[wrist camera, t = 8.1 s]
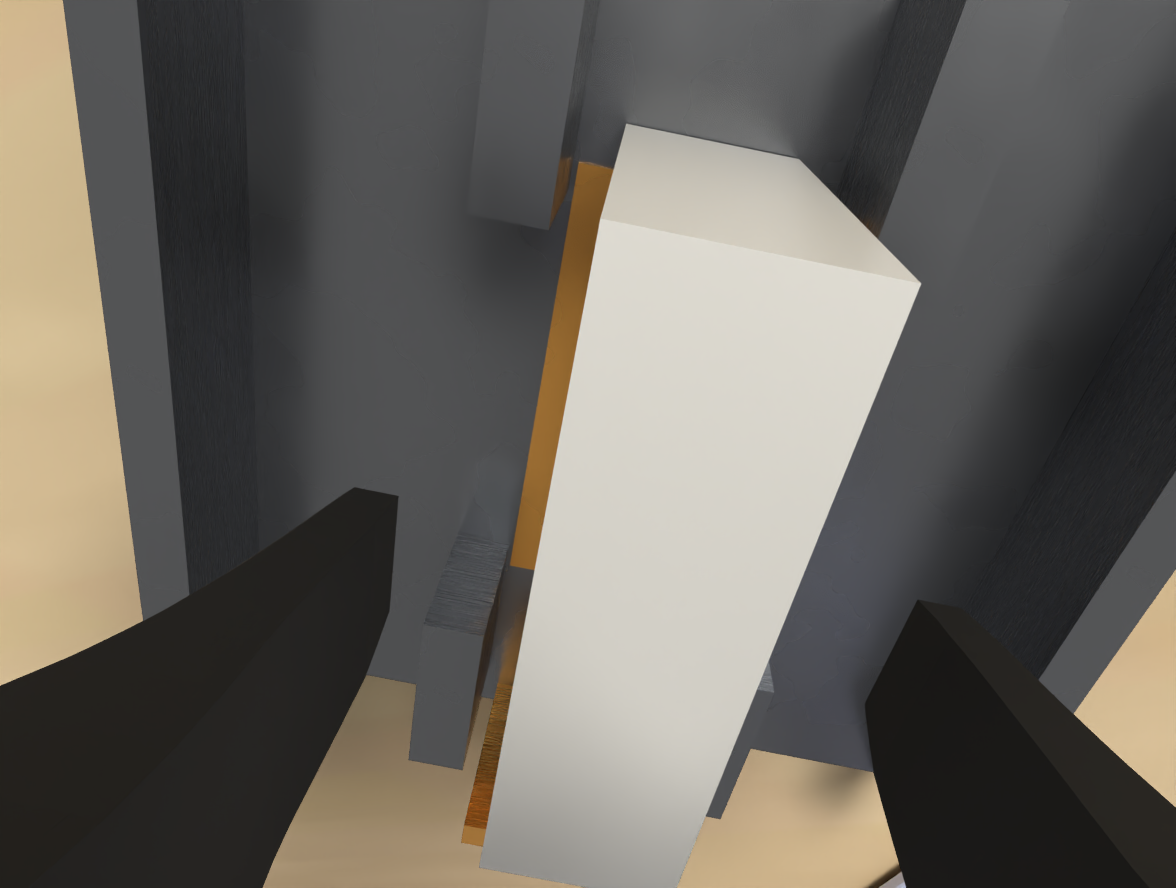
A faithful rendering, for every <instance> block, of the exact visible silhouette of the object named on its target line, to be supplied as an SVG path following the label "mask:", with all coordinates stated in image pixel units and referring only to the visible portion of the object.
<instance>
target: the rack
mask: <svg viewBox="0 0 1176 888" xmlns="http://www.w3.org/2000/svg"><path fill="white" fill-rule="evenodd" d="M63 4H64V12H65V20H66V28H67V35H68V43H69V51H70V59H71V66H72V74H73V82H74V89H75V97H76V105H77V113H78V120H79V128H80V136H81V144H82V151H83V159H84V167H85V175H86V182H87V190H88V198H89V205H90V213H91V221H92V229H93V236H94V244H95V252H96V260H97V267H98V275H99V283H100V291H101V298H102V306H103V314H104V322H105V329H106V337H107V345H108V352H109V360H110V368H111V376H112V383H113V391H114V399H115V407H116V414H117V422H118V430H119V438H120V445H121V453H122V461H123V468H124V476H125V484H126V492H127V499H128V507H129V515H130V523H131V530H132V538H133V546H134V554H135V561H136V569H137V577H138V584H139V592H140V600H141V608H142V615H143V621H144V620H146V619H148V618H150V617H152V616H154V615H155V614H157V613H159V612H161V611H163V610H165V609H166V608H168V607H170V606H172V605H173V604H175V603H177V602H179V601H180V600H182V599H184V598H185V597H187V596H189V595H190V594H192V593H194V592H195V591H197V590H199V589H201V588H202V587H204V586H206V585H207V584H209V583H211V582H212V581H214V580H216V579H217V578H219V577H221V576H222V575H224V574H226V573H227V572H229V571H231V570H232V569H234V568H235V567H237V566H238V565H240V564H241V563H243V562H244V561H246V560H248V559H249V558H251V557H252V556H254V555H255V554H257V553H258V552H260V551H261V550H263V549H264V548H266V547H267V546H269V545H270V544H272V543H273V542H275V541H276V540H278V539H279V538H281V537H282V536H284V535H285V534H287V533H288V532H290V531H291V530H292V529H294V528H295V527H297V526H298V525H300V524H301V523H303V522H304V521H305V520H307V519H308V518H310V517H311V516H313V515H314V514H315V513H317V512H318V511H320V510H321V509H322V508H324V507H325V506H327V505H328V504H330V503H331V502H332V501H334V500H335V499H337V498H338V497H340V496H341V495H343V494H344V493H346V492H347V491H349V490H351V489H352V488H354V487H357V488H362V489H367V490H372V491H377V492H382V493H387V494H392V495H397V496H399V498H398V511H397V523H396V536H395V549H394V561H393V574H392V587H391V600H390V611H389V614H388V617H387V619H386V622H385V625H384V628H383V631H382V633H381V636H380V639H379V642H378V645H377V647H376V650H375V653H374V655H373V658H372V661H371V663H370V666H369V669H368V671H367V674H366V675H370V676H375V677H381V678H386V679H391V680H396V681H401V682H407V683H412V684H417V685H416V695H415V704H414V713H413V723H412V732H411V742H410V751H409V760H412V761H417V762H422V763H427V764H433V765H438V766H443V767H448V768H454V769H459V770H463V766H464V762H465V758H466V754H467V750H468V746H469V743H470V739H471V735H472V731H473V727H474V723H475V719H476V715H477V711H478V707H479V703H480V700H481V697H485V698H490V699H494V701H493V706H492V710H491V714H490V718H489V722H488V727H487V731H486V735H485V739H484V744H483V748H482V752H481V756H480V760H479V765H478V769H477V773H476V777H475V782H474V786H473V790H472V794H471V798H470V803H469V807H468V811H467V815H466V820H465V824H464V829H463V835H462V841H461V843H467V844H472V845H477V846H483V844H484V838H485V833H486V828H487V822H488V817H489V812H490V806H491V801H492V796H493V790H494V785H495V780H496V774H497V769H498V763H499V758H500V753H501V747H502V742H503V737H504V731H505V726H506V721H507V715H508V710H509V705H510V699H511V694H512V689H513V683H514V678H515V673H516V667H517V662H518V656H519V651H520V646H521V640H522V635H523V630H524V624H525V619H526V614H527V608H528V603H529V598H530V592H531V587H532V582H533V576H534V571H535V565H536V560H537V555H538V549H539V544H540V539H541V533H542V528H543V523H544V517H545V512H546V507H547V501H548V496H549V491H550V485H551V480H552V475H553V469H554V464H555V458H556V453H557V448H558V442H559V437H560V432H561V426H562V421H563V416H564V410H565V405H566V400H567V394H568V389H569V384H570V378H571V373H572V367H573V362H574V357H575V351H576V346H577V341H578V335H579V330H580V325H581V319H582V314H583V309H584V303H585V298H586V293H587V287H588V282H589V277H590V271H591V266H592V260H593V255H594V250H595V244H596V239H597V234H598V228H599V223H600V218H601V214H602V211H603V207H604V203H605V200H606V196H607V192H608V189H609V185H610V181H611V178H612V174H613V170H614V167H615V163H616V159H617V156H618V152H619V148H620V145H621V141H622V137H623V134H624V130H625V126H626V124H630V125H635V126H640V127H645V128H650V129H655V130H660V131H665V132H669V133H674V134H679V135H684V136H689V137H694V138H699V139H703V140H708V141H713V142H718V143H723V144H728V145H733V146H738V147H742V148H747V149H752V150H757V151H762V152H767V153H772V154H776V155H781V156H786V157H791V158H796V159H799V160H800V161H801V162H802V163H803V164H804V165H805V166H806V167H807V168H808V169H809V170H810V171H811V172H812V173H813V174H814V175H815V176H816V177H817V178H818V179H819V180H820V181H821V182H822V183H823V184H824V185H825V186H826V187H827V188H828V189H829V190H830V191H831V192H832V193H833V194H834V195H835V196H836V197H837V198H838V199H839V200H840V201H841V202H842V203H843V204H844V205H845V206H846V207H847V208H848V209H849V210H850V211H851V212H852V214H853V215H854V216H855V217H856V218H857V219H858V220H859V221H860V222H861V223H862V224H863V225H864V226H865V227H866V228H867V229H868V230H869V231H870V232H871V233H872V234H873V235H874V236H875V237H876V238H877V239H878V240H879V241H880V242H881V243H882V244H883V245H884V246H885V247H886V248H887V249H888V250H889V251H890V252H891V253H892V254H893V255H894V256H895V257H896V258H897V259H898V260H899V261H900V262H901V263H902V264H903V265H904V266H905V267H906V269H907V270H908V271H909V272H910V273H911V274H912V275H913V276H914V277H915V278H916V279H917V280H918V281H919V282H920V283H921V286H920V288H919V290H918V293H917V295H916V298H915V300H914V303H913V305H912V308H911V310H910V313H909V315H908V318H907V320H906V323H905V325H904V328H903V330H902V332H901V335H900V337H899V340H898V342H897V345H896V347H895V350H894V352H893V355H892V357H891V360H890V362H889V365H888V367H887V370H886V372H885V374H884V377H883V379H882V382H881V384H880V387H879V389H878V392H877V394H876V397H875V399H874V402H873V404H872V407H871V409H870V411H869V414H868V416H867V419H866V421H865V424H864V426H863V429H862V431H861V434H860V436H859V439H858V441H857V444H856V446H855V449H854V451H853V453H852V456H851V458H850V461H849V463H848V466H847V468H846V471H845V473H844V476H843V478H842V481H841V483H840V486H839V488H838V491H837V493H836V495H835V498H834V500H833V503H832V505H831V508H830V510H829V513H828V515H827V518H826V520H825V523H824V525H823V528H822V530H821V532H820V535H819V537H818V540H817V542H816V545H815V547H814V550H813V552H812V555H811V557H810V560H809V562H808V565H807V567H806V570H805V572H804V574H803V577H802V579H801V582H800V584H799V587H798V589H797V592H796V594H795V597H794V599H793V602H792V604H791V607H790V609H789V612H788V614H787V616H786V619H785V621H784V624H783V626H782V629H781V631H780V634H779V636H778V639H777V641H776V644H775V646H774V649H773V651H772V653H771V656H770V658H769V661H768V663H767V666H766V668H765V671H764V673H763V676H762V678H761V681H760V683H759V686H758V688H757V691H756V693H755V695H754V698H753V700H752V703H751V705H750V708H749V710H748V713H747V715H746V718H745V720H744V723H743V725H742V728H741V730H740V733H739V735H738V737H737V740H736V742H735V745H734V747H733V750H732V752H731V755H730V757H729V760H728V762H727V765H726V767H725V770H724V772H723V774H722V777H721V779H720V782H719V784H718V787H717V789H716V792H715V794H714V797H713V799H712V802H711V804H710V807H709V809H708V812H707V814H706V816H707V817H712V818H717V819H721V816H722V814H723V812H724V809H725V807H726V805H727V802H728V800H729V798H730V795H731V793H732V791H733V788H734V786H735V784H736V781H737V779H738V777H739V774H740V772H741V770H742V767H743V765H744V763H745V760H746V758H747V756H748V753H749V751H750V749H756V750H761V751H766V752H771V753H776V754H782V755H787V756H792V757H797V758H802V759H808V760H813V761H818V762H823V763H828V764H834V765H839V766H844V767H849V768H854V769H860V770H865V771H870V772H873V773H874V770H873V763H872V757H871V751H870V745H869V737H868V729H867V721H866V713H865V705H864V704H865V702H866V700H867V698H868V696H869V694H870V692H871V690H872V688H873V686H874V684H875V682H876V680H877V678H878V676H879V674H880V672H881V670H882V668H883V666H884V664H885V662H886V660H887V658H888V657H889V655H890V653H891V651H892V649H893V647H894V645H895V643H896V641H897V639H898V637H899V635H900V633H901V631H902V629H903V627H904V625H905V623H906V621H907V619H908V617H909V615H910V613H911V611H912V609H913V607H914V605H915V604H916V602H917V600H923V601H928V602H933V603H938V604H943V605H948V606H953V607H958V608H962V609H963V610H964V611H965V612H966V613H968V614H969V615H970V616H971V617H972V618H974V619H975V620H976V621H977V622H978V623H979V624H980V625H981V626H983V627H984V628H985V629H986V630H987V631H988V632H989V633H990V634H991V635H992V636H993V637H994V638H995V639H996V640H997V641H999V642H1000V643H1001V644H1002V645H1003V646H1004V647H1005V648H1006V649H1007V650H1008V651H1009V652H1010V653H1011V654H1012V655H1013V656H1014V657H1015V658H1016V659H1017V660H1018V661H1019V662H1020V663H1021V664H1022V665H1023V666H1024V667H1025V668H1026V669H1027V670H1029V671H1030V672H1031V673H1032V674H1033V675H1034V676H1035V677H1036V678H1037V679H1038V680H1039V681H1040V682H1041V683H1042V684H1043V685H1044V686H1045V687H1046V688H1047V689H1048V690H1049V691H1050V692H1051V693H1052V694H1053V695H1054V696H1055V697H1056V698H1057V699H1058V700H1059V701H1060V702H1061V703H1062V704H1063V705H1064V706H1065V707H1067V708H1068V709H1069V710H1070V711H1071V712H1072V713H1073V714H1074V712H1075V711H1076V709H1077V708H1078V707H1079V705H1080V704H1081V702H1082V701H1083V700H1084V698H1085V697H1086V695H1087V694H1088V692H1089V691H1090V690H1091V688H1092V687H1093V685H1094V684H1095V683H1096V681H1097V680H1098V678H1099V677H1100V676H1101V674H1102V673H1103V671H1104V670H1105V668H1106V667H1107V666H1108V664H1109V663H1110V661H1111V660H1112V659H1113V657H1114V656H1115V654H1116V653H1117V652H1118V650H1119V649H1120V647H1121V646H1122V644H1123V643H1124V642H1125V640H1126V639H1127V637H1128V636H1129V635H1130V633H1131V632H1132V630H1133V629H1134V628H1135V626H1136V625H1137V623H1138V622H1139V620H1140V619H1141V618H1142V616H1143V615H1144V613H1145V612H1146V611H1147V609H1148V608H1149V606H1150V605H1151V603H1152V602H1153V601H1154V599H1155V598H1156V596H1157V595H1158V594H1159V592H1160V591H1161V589H1162V588H1163V587H1164V585H1165V584H1166V582H1167V581H1168V579H1169V578H1170V577H1171V575H1172V574H1173V572H1174V571H1175V570H1176V0H63ZM874 776H875V775H874ZM875 780H876V779H875Z"/></svg>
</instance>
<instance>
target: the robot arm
mask: <svg viewBox="0 0 1176 888" xmlns="http://www.w3.org/2000/svg"><path fill="white" fill-rule="evenodd" d="M398 498H399V496H397V495H392V494H387V493H382V492H377V491H372V490H367V489H362V488H357V487H354V488H352V489H351V490H349V491H347V492H346V493H344V494H343V495H341V496H340V497H338V498H337V499H335V500H334V501H332V502H331V503H330V504H328V505H327V506H325V507H324V508H322V509H321V510H320V511H318V512H317V513H315V514H314V515H313V516H311V517H310V518H308V519H307V520H305V521H304V522H303V523H301V524H300V525H298V526H297V527H295V528H294V529H292V530H291V531H290V532H288V533H287V534H285V535H284V536H282V537H281V538H279V539H278V540H276V541H275V542H273V543H272V544H270V545H269V546H267V547H266V548H264V549H263V550H261V551H260V552H258V553H257V554H255V555H254V556H252V557H251V558H249V559H248V560H246V561H244V562H243V563H241V564H240V565H238V566H237V567H235V568H234V569H232V570H231V571H229V572H227V573H226V574H224V575H222V576H221V577H219V578H217V579H216V580H214V581H212V582H211V583H209V584H207V585H206V586H204V587H202V588H201V589H199V590H197V591H195V592H194V593H192V594H190V595H189V596H187V597H185V598H184V599H182V600H180V601H179V602H177V603H175V604H173V605H172V606H170V607H168V608H166V609H165V610H163V611H161V612H159V613H157V614H155V615H154V616H152V617H150V618H148V619H146V620H144V621H142V622H140V623H138V624H136V625H134V626H133V627H131V628H129V629H126V630H124V631H122V632H120V633H118V634H116V635H114V636H112V637H110V638H108V639H106V640H104V641H102V642H100V643H98V644H96V645H94V646H92V647H89V648H87V649H85V650H83V651H81V652H79V653H77V654H74V655H72V656H70V657H68V658H66V659H63V660H61V661H58V662H56V663H54V664H51V665H49V666H46V667H44V668H42V669H39V670H37V671H34V672H32V673H30V674H27V675H25V676H23V677H20V678H18V679H15V680H13V681H11V682H8V683H6V684H3V685H1V686H0V888H263V885H264V883H265V880H266V878H267V875H268V873H269V870H270V868H271V865H272V863H273V860H274V858H275V856H276V854H277V852H278V849H279V847H280V845H281V843H282V841H283V839H284V836H285V834H286V832H287V830H288V828H289V826H290V824H291V822H292V820H293V818H294V816H295V814H296V812H297V810H298V808H299V806H300V804H301V802H302V800H303V798H304V796H305V794H306V792H307V790H308V789H309V787H310V785H311V783H312V781H313V779H314V777H315V775H316V773H317V771H318V769H319V767H320V765H321V763H322V761H323V759H324V757H325V755H326V753H327V751H328V750H329V748H330V746H331V744H332V742H333V740H334V738H335V736H336V734H337V732H338V730H339V728H340V726H341V724H342V722H343V720H344V718H345V716H346V714H347V712H348V710H349V708H350V706H351V704H352V702H353V700H354V698H355V697H356V695H357V693H358V691H359V689H360V687H361V684H362V682H363V680H364V678H365V676H366V674H367V671H368V669H369V666H370V663H371V661H372V658H373V655H374V653H375V650H376V647H377V645H378V642H379V639H380V636H381V633H382V631H383V628H384V625H385V622H386V619H387V617H388V614H389V611H390V600H391V587H392V574H393V561H394V549H395V536H396V523H397V511H398ZM864 705H865V713H866V721H867V729H868V737H869V745H870V751H871V757H872V763H873V770H874V775H875V779H876V783H877V787H878V791H879V794H880V798H881V802H882V805H883V809H884V812H885V816H886V819H887V823H888V827H889V830H890V834H891V837H892V841H893V844H894V848H895V851H896V855H897V858H898V862H899V865H900V868H901V872H900V873H899V874H897V875H896V876H894V877H893V878H892V879H890V880H889V881H887V882H886V883H885V884H883V885H882V886H880V887H879V888H1176V807H1174V806H1173V805H1172V804H1171V803H1170V802H1169V801H1168V800H1167V799H1165V798H1164V797H1163V796H1162V795H1161V794H1160V793H1159V792H1158V791H1156V790H1155V789H1154V788H1153V787H1152V786H1151V785H1150V784H1149V783H1147V782H1146V781H1145V780H1144V779H1143V778H1142V777H1141V776H1140V775H1138V774H1137V773H1136V772H1135V771H1134V770H1133V769H1132V768H1130V767H1129V766H1128V765H1127V764H1126V763H1125V762H1124V761H1123V760H1122V759H1121V758H1120V757H1118V756H1117V755H1116V754H1115V753H1114V752H1113V751H1112V750H1111V749H1110V748H1109V747H1108V746H1107V745H1105V744H1104V743H1103V742H1102V741H1101V740H1100V739H1099V738H1098V737H1097V736H1096V735H1095V734H1094V733H1093V732H1092V731H1091V730H1090V729H1088V728H1087V727H1086V726H1085V725H1084V724H1083V723H1082V722H1081V721H1080V720H1079V719H1078V718H1077V717H1076V716H1075V715H1074V714H1073V713H1072V712H1071V711H1070V710H1069V709H1068V708H1067V707H1065V706H1064V705H1063V704H1062V703H1061V702H1060V701H1059V700H1058V699H1057V698H1056V697H1055V696H1054V695H1053V694H1052V693H1051V692H1050V691H1049V690H1048V689H1047V688H1046V687H1045V686H1044V685H1043V684H1042V683H1041V682H1040V681H1039V680H1038V679H1037V678H1036V677H1035V676H1034V675H1033V674H1032V673H1031V672H1030V671H1029V670H1027V669H1026V668H1025V667H1024V666H1023V665H1022V664H1021V663H1020V662H1019V661H1018V660H1017V659H1016V658H1015V657H1014V656H1013V655H1012V654H1011V653H1010V652H1009V651H1008V650H1007V649H1006V648H1005V647H1004V646H1003V645H1002V644H1001V643H1000V642H999V641H997V640H996V639H995V638H994V637H993V636H992V635H991V634H990V633H989V632H988V631H987V630H986V629H985V628H984V627H983V626H981V625H980V624H979V623H978V622H977V621H976V620H975V619H974V618H972V617H971V616H970V615H969V614H968V613H966V612H965V611H964V610H963V609H962V608H958V607H953V606H948V605H943V604H938V603H933V602H928V601H923V600H917V602H916V604H915V605H914V607H913V609H912V611H911V613H910V615H909V617H908V619H907V621H906V623H905V625H904V627H903V629H902V631H901V633H900V635H899V637H898V639H897V641H896V643H895V645H894V647H893V649H892V651H891V653H890V655H889V657H888V658H887V660H886V662H885V664H884V666H883V668H882V670H881V672H880V674H879V676H878V678H877V680H876V682H875V684H874V686H873V688H872V690H871V692H870V694H869V696H868V698H867V700H866V702H865V704H864Z"/></svg>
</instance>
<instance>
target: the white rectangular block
mask: <svg viewBox="0 0 1176 888" xmlns="http://www.w3.org/2000/svg"><path fill="white" fill-rule="evenodd" d="M920 286H921V283H920V282H919V281H918V280H917V279H916V278H915V277H914V276H913V275H912V274H911V273H910V272H909V271H908V270H907V269H906V267H905V266H904V265H903V264H902V263H901V262H900V261H899V260H898V259H897V258H896V257H895V256H894V255H893V254H892V253H891V252H890V251H889V250H888V249H887V248H886V247H885V246H884V245H883V244H882V243H881V242H880V241H879V240H878V239H877V238H876V237H875V236H874V235H873V234H872V233H871V232H870V231H869V230H868V229H867V228H866V227H865V226H864V225H863V224H862V223H861V222H860V221H859V220H858V219H857V218H856V217H855V216H854V215H853V214H852V212H851V211H850V210H849V209H848V208H847V207H846V206H845V205H844V204H843V203H842V202H841V201H840V200H839V199H838V198H837V197H836V196H835V195H834V194H833V193H832V192H831V191H830V190H829V189H828V188H827V187H826V186H825V185H824V184H823V183H822V182H821V181H820V180H819V179H818V178H817V177H816V176H815V175H814V174H813V173H812V172H811V171H810V170H809V169H808V168H807V167H806V166H805V165H804V164H803V163H802V162H801V161H800V160H799V159H796V158H791V157H786V156H781V155H776V154H772V153H767V152H762V151H757V150H752V149H747V148H742V147H738V146H733V145H728V144H723V143H718V142H713V141H708V140H703V139H699V138H694V137H689V136H684V135H679V134H674V133H669V132H665V131H660V130H655V129H650V128H645V127H640V126H635V125H630V124H626V126H625V130H624V134H623V137H622V141H621V145H620V148H619V152H618V156H617V159H616V163H615V167H614V170H613V174H612V178H611V181H610V185H609V189H608V192H607V196H606V200H605V203H604V207H603V211H602V214H601V218H600V223H599V228H598V234H597V239H596V244H595V250H594V255H593V260H592V266H591V271H590V277H589V282H588V287H587V293H586V298H585V303H584V309H583V314H582V319H581V325H580V330H579V335H578V341H577V346H576V351H575V357H574V362H573V367H572V373H571V378H570V384H569V389H568V394H567V400H566V405H565V410H564V416H563V421H562V426H561V432H560V437H559V442H558V448H557V453H556V458H555V464H554V469H553V475H552V480H551V485H550V491H549V496H548V501H547V507H546V512H545V517H544V523H543V528H542V533H541V539H540V544H539V549H538V555H537V560H536V565H535V571H534V576H533V582H532V587H531V592H530V598H529V603H528V608H527V614H526V619H525V624H524V630H523V635H522V640H521V646H520V651H519V656H518V662H517V667H516V673H515V678H514V683H513V689H512V694H511V699H510V705H509V710H508V715H507V721H506V726H505V731H504V737H503V742H502V747H501V753H500V758H499V763H498V769H497V774H496V780H495V785H494V790H493V796H492V801H491V806H490V812H489V817H488V822H487V828H486V833H485V838H484V844H483V849H482V854H481V860H480V865H479V868H484V869H489V870H495V871H500V872H506V873H511V874H516V875H522V876H527V877H533V878H538V879H543V880H549V881H554V882H560V883H565V884H571V885H576V886H581V887H587V888H677V886H678V883H679V881H680V878H681V876H682V873H683V871H684V868H685V866H686V863H687V861H688V858H689V856H690V854H691V851H692V849H693V846H694V844H695V841H696V839H697V836H698V834H699V831H700V829H701V826H702V824H703V821H704V819H705V816H706V814H707V812H708V809H709V807H710V804H711V802H712V799H713V797H714V794H715V792H716V789H717V787H718V784H719V782H720V779H721V777H722V774H723V772H724V770H725V767H726V765H727V762H728V760H729V757H730V755H731V752H732V750H733V747H734V745H735V742H736V740H737V737H738V735H739V733H740V730H741V728H742V725H743V723H744V720H745V718H746V715H747V713H748V710H749V708H750V705H751V703H752V700H753V698H754V695H755V693H756V691H757V688H758V686H759V683H760V681H761V678H762V676H763V673H764V671H765V668H766V666H767V663H768V661H769V658H770V656H771V653H772V651H773V649H774V646H775V644H776V641H777V639H778V636H779V634H780V631H781V629H782V626H783V624H784V621H785V619H786V616H787V614H788V612H789V609H790V607H791V604H792V602H793V599H794V597H795V594H796V592H797V589H798V587H799V584H800V582H801V579H802V577H803V574H804V572H805V570H806V567H807V565H808V562H809V560H810V557H811V555H812V552H813V550H814V547H815V545H816V542H817V540H818V537H819V535H820V532H821V530H822V528H823V525H824V523H825V520H826V518H827V515H828V513H829V510H830V508H831V505H832V503H833V500H834V498H835V495H836V493H837V491H838V488H839V486H840V483H841V481H842V478H843V476H844V473H845V471H846V468H847V466H848V463H849V461H850V458H851V456H852V453H853V451H854V449H855V446H856V444H857V441H858V439H859V436H860V434H861V431H862V429H863V426H864V424H865V421H866V419H867V416H868V414H869V411H870V409H871V407H872V404H873V402H874V399H875V397H876V394H877V392H878V389H879V387H880V384H881V382H882V379H883V377H884V374H885V372H886V370H887V367H888V365H889V362H890V360H891V357H892V355H893V352H894V350H895V347H896V345H897V342H898V340H899V337H900V335H901V332H902V330H903V328H904V325H905V323H906V320H907V318H908V315H909V313H910V310H911V308H912V305H913V303H914V300H915V298H916V295H917V293H918V290H919V288H920Z"/></svg>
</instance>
